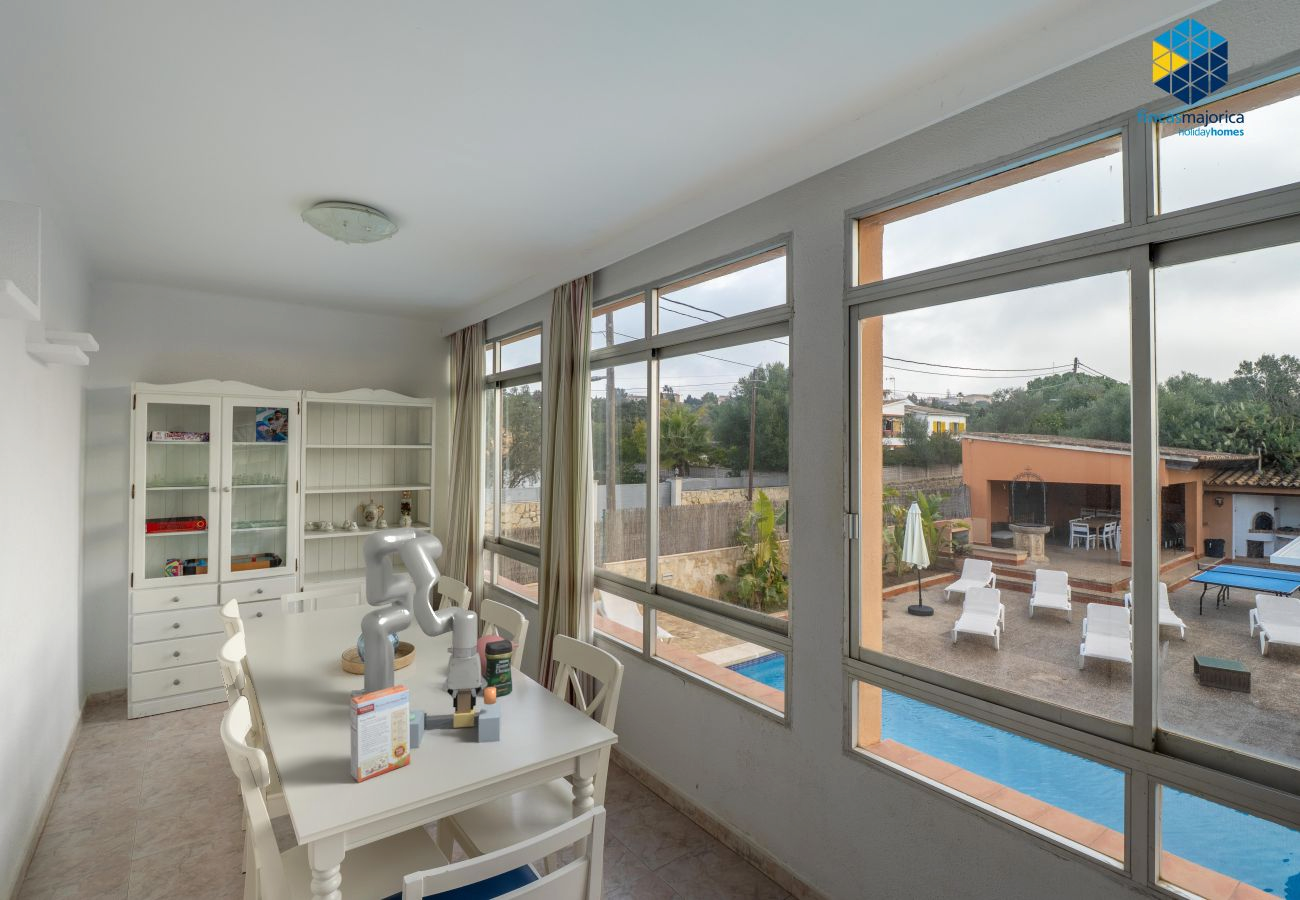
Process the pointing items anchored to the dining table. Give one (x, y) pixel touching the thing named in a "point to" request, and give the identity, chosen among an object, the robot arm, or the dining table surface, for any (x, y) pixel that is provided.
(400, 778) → the dining table surface
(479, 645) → the pink rounded piece
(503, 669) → the coffee jar
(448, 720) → the rail
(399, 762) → the cracker box
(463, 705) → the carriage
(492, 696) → the orange rounded cube
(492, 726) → the cabinet far
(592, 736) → the dining table surface
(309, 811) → the dining table surface
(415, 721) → the cabinet near
